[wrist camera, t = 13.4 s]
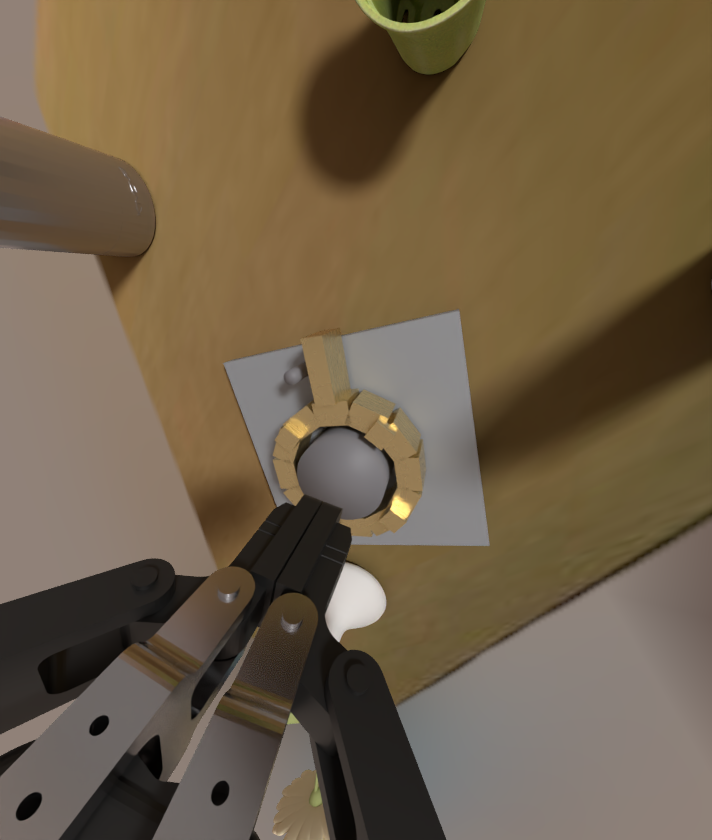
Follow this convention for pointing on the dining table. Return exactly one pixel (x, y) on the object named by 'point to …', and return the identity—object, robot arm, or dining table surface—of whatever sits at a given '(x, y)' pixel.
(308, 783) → the flower in vase
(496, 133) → the dining table surface
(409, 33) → the plant pot
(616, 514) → the dining table surface
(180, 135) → the dining table surface
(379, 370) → the boss plate
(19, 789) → the robot arm
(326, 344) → the segmented wooden ring
